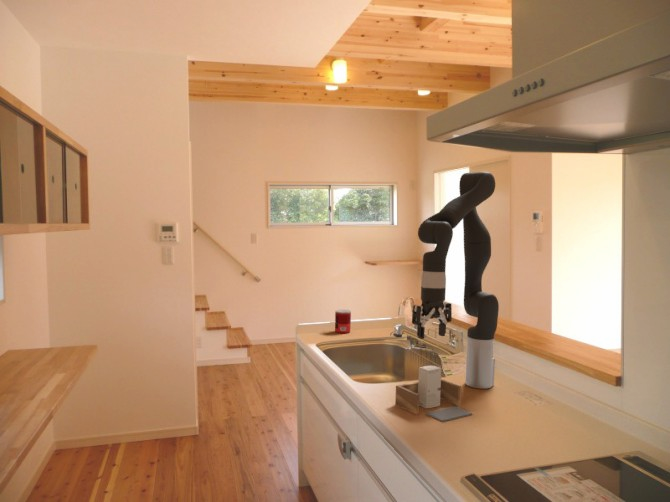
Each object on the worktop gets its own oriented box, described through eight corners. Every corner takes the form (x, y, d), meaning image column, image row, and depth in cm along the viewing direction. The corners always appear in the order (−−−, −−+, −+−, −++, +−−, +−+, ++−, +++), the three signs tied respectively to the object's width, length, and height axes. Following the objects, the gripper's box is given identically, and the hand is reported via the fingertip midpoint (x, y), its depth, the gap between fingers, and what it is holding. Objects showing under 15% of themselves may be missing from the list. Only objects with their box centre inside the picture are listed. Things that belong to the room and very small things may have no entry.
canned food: (353, 332, 273) (354, 311, 272) (342, 334, 267) (343, 312, 266) (342, 329, 278) (342, 308, 277) (331, 331, 272) (332, 310, 272)
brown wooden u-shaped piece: (438, 395, 178) (438, 377, 177) (459, 405, 169) (460, 386, 169) (395, 404, 168) (396, 385, 168) (416, 414, 160) (416, 395, 159)
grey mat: (455, 407, 167) (455, 406, 167) (471, 414, 161) (471, 413, 161) (425, 414, 160) (426, 412, 160) (442, 422, 155) (442, 420, 154)
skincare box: (426, 409, 165) (427, 370, 164) (416, 404, 168) (418, 367, 168) (441, 405, 168) (442, 367, 167) (431, 401, 172) (432, 364, 171)
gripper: (442, 283, 173) (440, 332, 174) (407, 285, 165) (405, 336, 166) (458, 286, 166) (456, 337, 168) (423, 288, 159) (421, 342, 160)
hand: (431, 337), depth 167 cm, fingers open, 8 cm apart
